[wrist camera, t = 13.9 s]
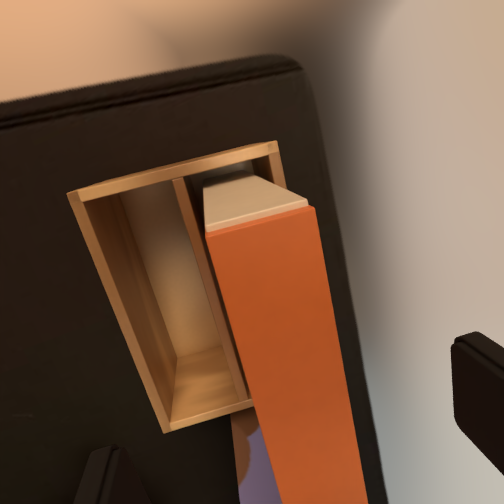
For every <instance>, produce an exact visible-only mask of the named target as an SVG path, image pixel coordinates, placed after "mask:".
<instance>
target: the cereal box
mask: <svg viewBox="0 0 504 504" xmlns="http://www.w3.org/2000/svg"><path fill="white" fill-rule="evenodd" d="M230 416H231V425H232V434H233V443H234V452H235V461H236V470H237V479H238V488H239V497H240V504H282V501H281V497H280V494H279V490H278V487H277V484H276V480H275V477H274V473H273V470H272V466H271V463H270V459H269V456H268V453H267V449H266V446H265V442H264V439H263V435H262V432H261V428H260V425H259V422H258V418H257V415H256V411H255V408H254V406H253V407H249V408H246V409H243V410H239V411H236V412H233V413H230Z"/></svg>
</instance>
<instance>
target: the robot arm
mask: <svg viewBox="0 0 504 504" xmlns="http://www.w3.org/2000/svg"><path fill="white" fill-rule="evenodd" d="M451 364H452V385H453V405H454V418H455V421H456V423H457V425H458V427H459V428H460V429H461V431H462V432H463V433H465V435H466V436H467V437H468V438H469V439H470V440H471V441H472V442H473V443H474V444H475V445H476V446H477V448H478V449H479V450H480V451H481V452H482V453H483V454H484V455H485V456H486V457H487V458H488V459H489V460H490V461H491V462H492V464H493V465H494V466H495V467H496V468H497V469H498V470H499V471H500V472H501V473H502V474H503V475H504V348H503V347H502V346H500V345H499V344H497V343H496V342H494V341H492V340H491V339H489V338H488V337H486V336H485V335H483V334H482V333H480V332H472V333H468V334H465V335H462V336H459V337H456V338H455V340H454V344H452V346H451ZM73 504H151V502H150V500H149V498H148V496H147V493H146V491H145V489H144V487H143V485H142V483H141V481H140V478H139V476H138V474H137V472H136V470H135V468H134V466H133V464H132V461H131V459H130V457H129V455H128V453H127V451H126V449H125V448H120V449H119V447H118V446H117V445H116V444H113V445H110V446H107V447H104V448H100V449H97V450H94V451H92V452H91V454H90V456H89V459H88V461H87V464H86V467H85V470H84V473H83V476H82V479H81V482H80V485H79V488H78V491H77V494H76V497H75V500H74V503H73Z"/></svg>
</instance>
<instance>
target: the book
mask: <svg viewBox="0 0 504 504" xmlns="http://www.w3.org/2000/svg"><path fill="white" fill-rule="evenodd" d="M203 200H204V222H205V239H206V242H207V246H208V249H209V253H210V256H211V260H212V263H213V266H214V270H215V273H216V277H217V280H218V284H219V287H220V291H221V294H222V297H223V301H224V304H225V308H226V311H227V315H228V318H229V322H230V325H231V328H232V332H233V335H234V339H235V342H236V346H237V349H238V353H239V356H240V359H241V363H242V366H243V370H244V373H245V377H246V380H247V384H248V387H249V390H250V394H251V397H252V401H253V404H254V408H255V411H256V415H257V418H258V422H259V425H260V428H261V432H262V435H263V439H264V442H265V446H266V449H267V453H268V456H269V459H270V463H271V466H272V470H273V473H274V477H275V480H276V484H277V487H278V490H279V494H280V497H281V501H282V504H368V501H367V495H366V489H365V484H364V478H363V473H362V467H361V462H360V456H359V451H358V445H357V440H356V434H355V428H354V423H353V417H352V412H351V406H350V401H349V395H348V390H347V384H346V379H345V373H344V367H343V362H342V356H341V351H340V345H339V340H338V334H337V329H336V323H335V317H334V312H333V306H332V301H331V295H330V290H329V284H328V279H327V273H326V268H325V262H324V256H323V251H322V245H321V240H320V234H319V229H318V223H317V218H316V212H315V208H314V207H312V206H310V205H308V201H307V199H306V198H303V197H301V196H299V195H297V194H295V193H293V192H290V191H288V190H286V189H284V188H282V187H280V186H277V185H275V184H273V183H271V182H269V181H267V180H264V179H262V178H260V177H258V176H256V175H253V174H251V173H249V172H247V171H245V170H239V171H235V172H231V173H227V174H223V175H219V176H215V177H211V178H207V179H203Z"/></svg>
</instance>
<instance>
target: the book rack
mask: <svg viewBox="0 0 504 504" xmlns="http://www.w3.org/2000/svg"><path fill="white" fill-rule="evenodd" d="M239 170H245V171H247V172H249V173H251V174H253V175H256V176H258V177H260V178H262V179H264V180H267V181H269V182H271V183H273V184H275V185H277V186H280V187H282V188H284V189H286V190H287V188H286V183H285V178H284V173H283V168H282V163H281V158H280V153H279V148H278V143H277V141H269V142H261V143H254V144H250V145H246V146H242V147H238V148H234V149H230V150H226V151H222V152H218V153H214V154H210V155H206V156H202V157H198V158H194V159H190V160H186V161H182V162H178V163H174V164H170V165H166V166H162V167H158V168H154V169H150V170H146V171H142V172H138V173H134V174H130V175H126V176H122V177H118V178H114V179H110V180H106V181H103V182H100V183H97V184H94V185H90V186H87V187H84V188H81V189H78V190H75V191H72V192H68V193H66V194H67V197H68V199H69V202H70V204H71V207H72V209H73V211H74V214H75V216H76V219H77V221H78V224H79V226H80V229H81V231H82V234H83V236H84V239H85V241H86V244H87V246H88V248H89V251H90V253H91V256H92V258H93V261H94V263H95V266H96V268H97V271H98V273H99V276H100V278H101V280H102V283H103V285H104V288H105V290H106V293H107V295H108V298H109V300H110V303H111V305H112V308H113V310H114V313H115V315H116V317H117V320H118V322H119V325H120V327H121V330H122V332H123V335H124V337H125V340H126V342H127V345H128V347H129V349H130V352H131V354H132V357H133V359H134V362H135V364H136V367H137V369H138V372H139V374H140V377H141V379H142V381H143V384H144V386H145V389H146V391H147V394H148V396H149V399H150V401H151V404H152V406H153V409H154V411H155V414H156V416H157V418H158V421H159V423H160V426H161V428H162V431H163V433H167V432H170V431H173V430H177V429H180V428H183V427H186V426H190V425H193V424H196V423H200V422H203V421H206V420H210V419H213V418H216V417H220V416H223V415H226V414H230V413H233V412H236V411H239V410H243V409H246V408H249V407H253V406H254V404H253V401H252V397H251V394H250V390H249V387H248V384H247V380H246V377H245V373H244V370H243V366H242V363H241V359H240V356H239V353H238V349H237V346H236V342H235V339H234V335H233V332H232V328H231V325H230V322H229V318H228V315H227V311H226V308H225V304H224V301H223V297H222V294H221V291H220V287H219V284H218V280H217V277H216V273H215V270H214V266H213V263H212V260H211V256H210V253H209V249H208V246H207V242H206V239H205V222H204V200H203V179H207V178H211V177H215V176H219V175H223V174H227V173H231V172H235V171H239Z"/></svg>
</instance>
